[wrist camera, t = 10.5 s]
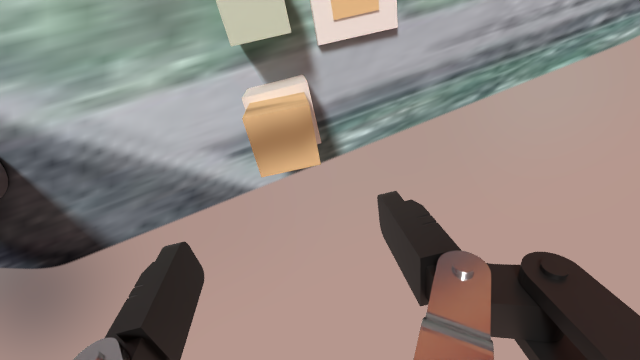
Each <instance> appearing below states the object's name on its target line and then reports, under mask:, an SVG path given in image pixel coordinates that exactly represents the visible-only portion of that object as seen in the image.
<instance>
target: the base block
mask: <svg viewBox="0 0 640 360" xmlns="http://www.w3.org/2000/svg"><path fill="white" fill-rule="evenodd" d="M301 92H304V93H305V96H306V98H307V100H308V103H309V106H310V111H311V116H312V122H313V127H314V132H315V137H316V143H317V144H320V143H321V139H320V135H319V130H318V126H317V122H316V117H315V113H314V109H313V104H312V100H311V96H310V91H309V87H308V83H307V80H306V79H305V77H304V75H299V76H295V77H291V78H287V79H283V80H279V81H275V82H272V83H268V84H264V85H260V86H256V87H252V88H248V89H247V90H246V92H245V94H244V95H243V97H242V101H243V104H244V106H245V109H247V107H248V105H249V103H253V102H258V101H263V100H267V99H272V98H277V97H282V96H287V95H292V94H296V93H301Z"/></svg>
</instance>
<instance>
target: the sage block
mask: <svg viewBox="0 0 640 360" xmlns="http://www.w3.org/2000/svg"><path fill="white" fill-rule="evenodd" d="M216 2H217V5H218V8H219V11H220V14H221V17H222V20H223V23H224V26H225V29H226V33H227V36H228V39H229V42H230V45H231V46H236V45H240V44H244V43H249V42H253V41H257V40H262V39H266V38H270V37H275V36H279V35H284V34H288V33H291V28H290V24H289V19H288V15H287V10H286V6H285V1H284V0H216Z"/></svg>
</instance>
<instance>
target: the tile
mask: <svg viewBox="0 0 640 360" xmlns="http://www.w3.org/2000/svg"><path fill="white" fill-rule="evenodd" d="M310 5H311V11H312V17H313V22H314V28H315V34H316V39H317V45H323V44H327V43H331V42H336V41H340V40H345V39H349V38H353V37H358V36H362V35H367V34H371V33H375V32H380V31H384V30H389V29H393V28H397V27H398V24H397V0H310Z"/></svg>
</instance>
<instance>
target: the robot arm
mask: <svg viewBox="0 0 640 360" xmlns="http://www.w3.org/2000/svg"><path fill="white" fill-rule="evenodd" d="M7 188H8V177H7V174H6V171H5V169H4V168H3V166H2V164H1V163H0V198H1V197H2V196H3V195H4V194H5V193H6V190H7ZM377 199H378V209H379V220H380V227H381V231H382V234H383V237H384V239H385V240H386V243H387V245H388V246H389V248H390V250H391V252H392V254H393V256H394V258H395V260H396V262H397V263H398V265H399V267H400V269H401V271H402V273H403V275H404V277H405V279H406V280H407V282H408V284H409V286H410V288H411V290H412V291H413V293H414V295H415V297H416V299H417V301H418V303H419V305H420V306H424V305H428V309H427V313H426V317H424V318H423V321H422V324H421V329H420V333H419V337H418V342H417V346H416V351H415V356H414V360H494V351H493V350H494V349H493V342H492V341H491V338H490V337H500V338H511V339H515V341H516V342H517V344H518V345H519V346H520V348H521V349H522V350H523V352H524V353H525V355H526V356H527V357H528V359H529V360H640V316H639V315H638V314H637V313H636V312H634V311H633V310H632V309H631V308H629V307H628V306H627V305H626V304H625V303H623V302H622V301H621V300H620V299H618V298H617V297H616V296H615V295H614V294H612V293H611V292H610V291H609V290H608V289H606V288H605V287H604V286H603V285H601V284H600V283H599V282H598V281H597V280H595V279H594V278H593V277H592V276H591V275H589V274H588V273H587V272H585V271H584V270H583V269H582V268H581V267H580V266H578V265H577V264H576V263H574V262H572V261H571V260H569V259H567V258H565V257H562V256H560V255H556V254H553V253H548V252H533V253H529V254H527V255H526V256H524V258H523V259H522V262H521V265H502V264H501V265H500V264H488V263H485V261H483V260H482V259H481V258H479V257H478V256H476V255H474V254H472V253H469V252H465V251H461V249H460V248H459V247H458V246H457V245H456V244H455V243H454V241H453V240H452V239H451V238H450V237H449V235H448V234H447V233H446V232H445V231H444V230H443V229H442V227H441V226H440V225H439V224H438V223H436V220H435V219H434V218H433V217H432V216H430V213H429V212H428V211H427V210H426V209H425V208H424V207H423V206H422V205H421V204H419V203H417V202H415V201H413V200H408V201H404V200H403V199H402V197H401V196H400V195H399V194H398V193H397V191H394V192H389V193H385V194H381V195H378V197H377ZM203 283H204V271H203V268H202V266H201V264H200V263H199V261H198V260H197V258H196V256H195V255H194V253H193V252H192V250H191V248H190V246H189V245H188V244H187V243H186V242H181V243H177V244H173V245H168V246H165V247H164V248H163V249H162V250H161V252H160V254H159V255H158V258H157V259H156V261H155V262H153V263H152V264H151V265H150V266H149V267H148V268H147V269H146V270H145V271H144V272H143V273H142V274H141V276H140V278H139V279H138V281H137V283H136V284H135V288H134V289H133V290H132V291H131V293H130V295H129V299H127V300H126V302H125V303H124V305H123V307H122V309H121V310H120V312H119V314H118V316H117V317H116V319H115V321H114V323H113V324H112V326H111V328H110V329H109V331H108V333H107V335H106V337H105V338H104V339H101V340H99V341H96V342H95V343H93V344H91V345H90V346H88V347H87V348H85V349H84V350H83V351H82V352H81V353H79V354H78V356H76V357H75V358H74V360H180V359H181V355H182V352H183V349H184V346H185V343H186V339H187V336H188V332H189V329H190V326H191V323H192V319H193V316H194V313H195V309H196V306H197V303H198V299H199V296H200V293H201V290H202V286H203Z"/></svg>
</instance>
